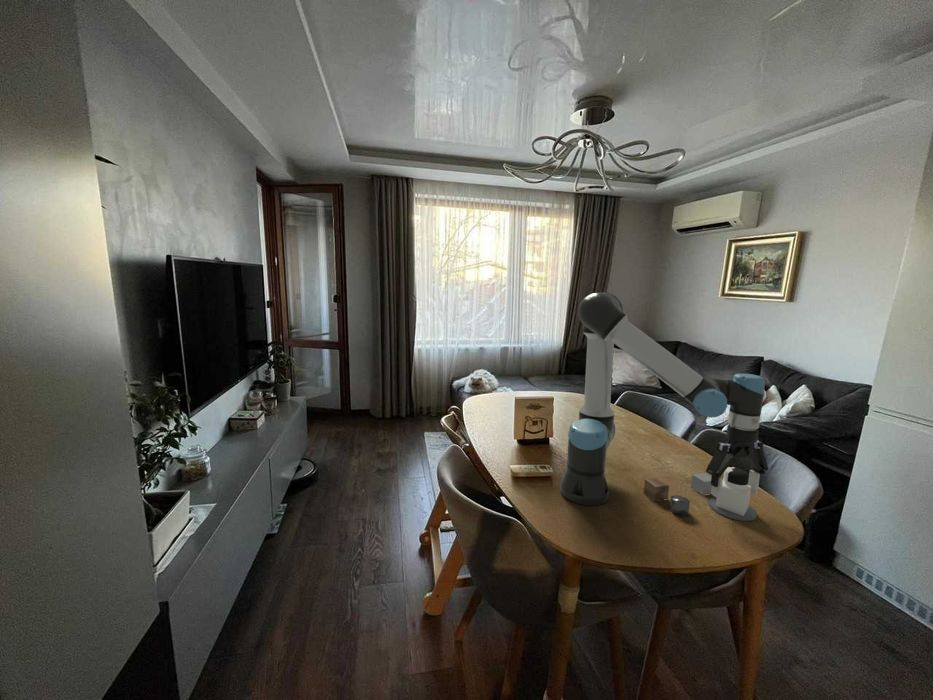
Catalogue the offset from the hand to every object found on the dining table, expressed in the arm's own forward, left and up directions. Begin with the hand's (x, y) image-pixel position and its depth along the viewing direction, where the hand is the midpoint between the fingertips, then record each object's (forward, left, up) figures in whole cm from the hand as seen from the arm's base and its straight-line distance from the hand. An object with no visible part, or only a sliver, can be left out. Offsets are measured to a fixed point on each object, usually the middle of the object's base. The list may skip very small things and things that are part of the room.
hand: (733, 494), depth 115 cm
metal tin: (-17, +2, -5) cm, 18 cm away
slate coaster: (0, 0, -5) cm, 5 cm away
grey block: (0, +11, -5) cm, 12 cm away
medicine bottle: (0, 0, -4) cm, 4 cm away
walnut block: (-18, +11, -5) cm, 22 cm away
